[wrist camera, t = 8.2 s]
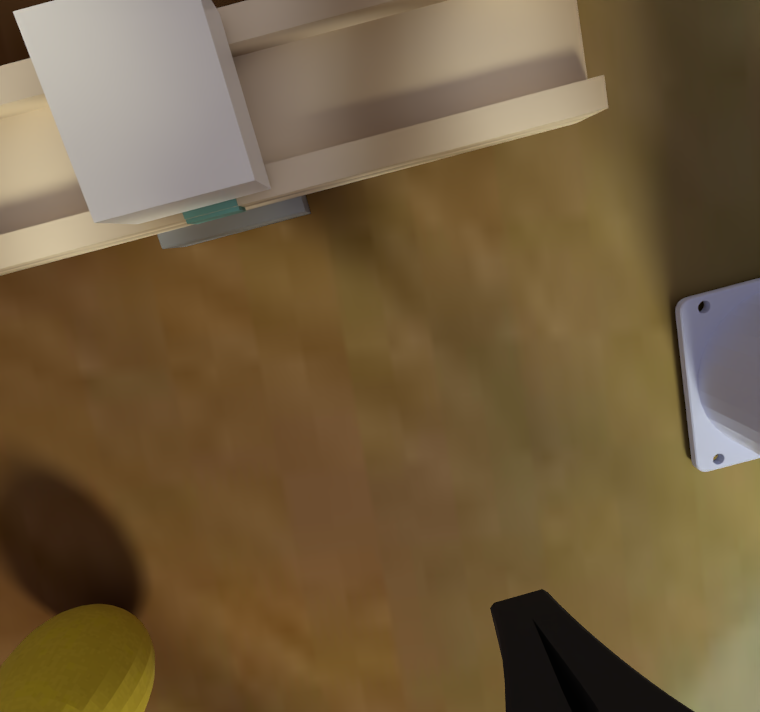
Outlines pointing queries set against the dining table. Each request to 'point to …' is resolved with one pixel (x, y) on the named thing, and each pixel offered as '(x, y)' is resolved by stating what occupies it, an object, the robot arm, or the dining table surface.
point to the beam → (320, 110)
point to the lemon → (81, 664)
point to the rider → (145, 104)
